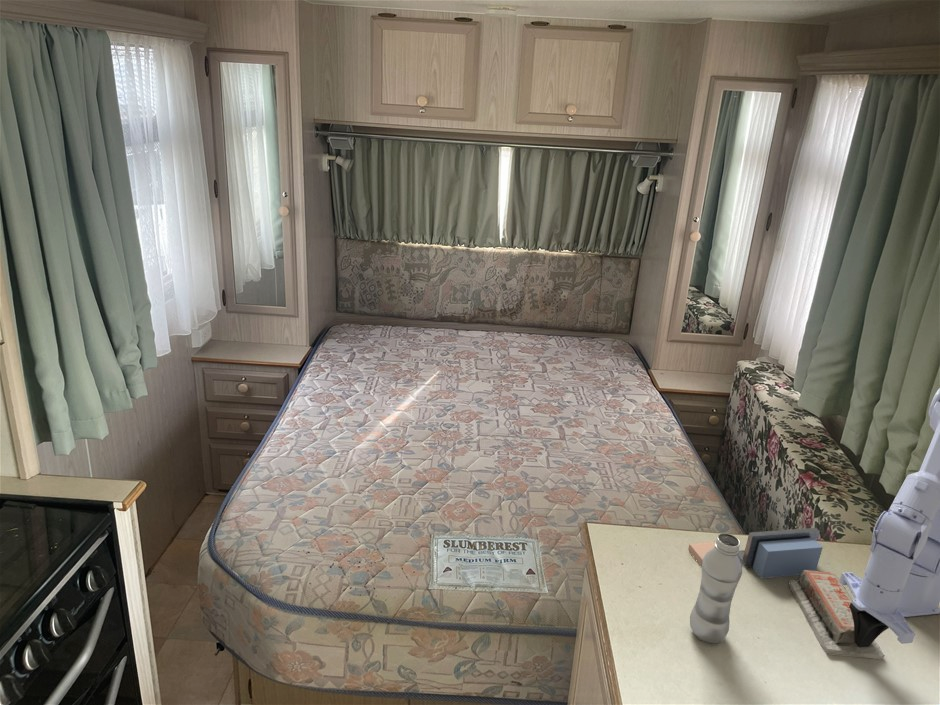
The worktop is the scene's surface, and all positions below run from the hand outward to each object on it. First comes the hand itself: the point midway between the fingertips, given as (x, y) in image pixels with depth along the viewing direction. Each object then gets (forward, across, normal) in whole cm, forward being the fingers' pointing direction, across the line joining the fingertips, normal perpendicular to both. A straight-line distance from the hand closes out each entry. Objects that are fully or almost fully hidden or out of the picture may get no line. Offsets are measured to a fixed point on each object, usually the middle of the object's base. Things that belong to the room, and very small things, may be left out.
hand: (861, 644), depth 117 cm
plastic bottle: (+3, -8, -24) cm, 25 cm away
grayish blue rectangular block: (+3, -22, +1) cm, 22 cm away
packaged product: (+3, -8, +1) cm, 9 cm away
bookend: (+3, -26, +1) cm, 26 cm away
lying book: (+3, -28, -12) cm, 31 cm away
